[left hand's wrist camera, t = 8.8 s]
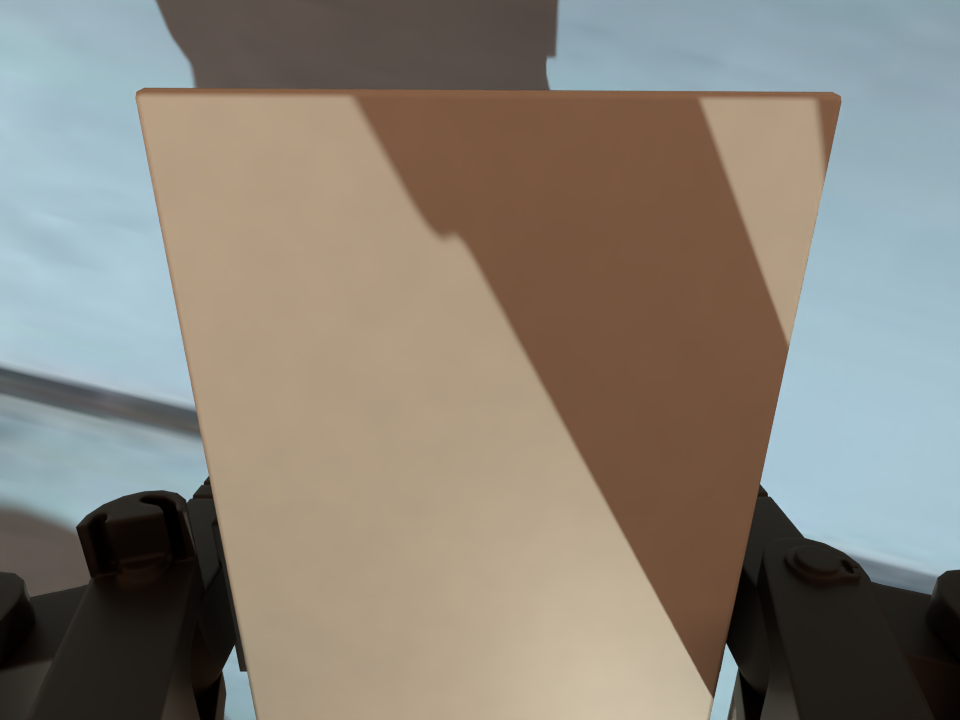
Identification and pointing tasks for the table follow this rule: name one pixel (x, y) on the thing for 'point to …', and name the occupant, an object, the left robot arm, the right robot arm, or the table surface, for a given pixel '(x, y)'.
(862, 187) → the table surface
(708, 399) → the post
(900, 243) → the table surface
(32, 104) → the table surface
